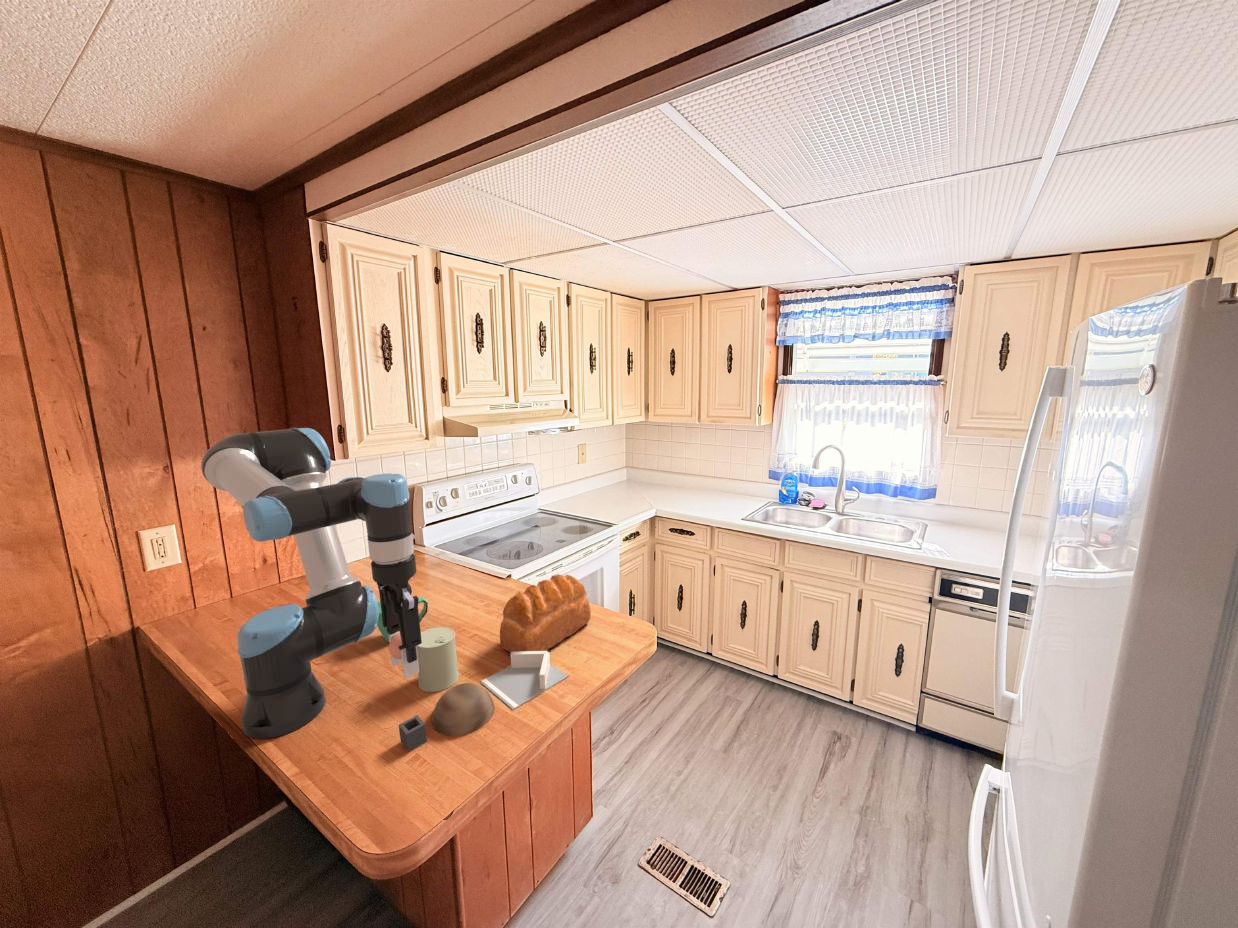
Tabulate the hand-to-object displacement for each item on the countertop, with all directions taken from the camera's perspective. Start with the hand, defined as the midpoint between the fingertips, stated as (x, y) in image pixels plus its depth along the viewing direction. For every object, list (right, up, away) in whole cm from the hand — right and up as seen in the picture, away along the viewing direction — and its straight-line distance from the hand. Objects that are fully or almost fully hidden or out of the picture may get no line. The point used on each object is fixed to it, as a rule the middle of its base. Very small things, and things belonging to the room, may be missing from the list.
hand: (405, 668), depth 94 cm
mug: (-20, -9, +43) cm, 48 cm away
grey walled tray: (+19, -12, +22) cm, 32 cm away
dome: (+8, -21, +12) cm, 26 cm away
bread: (+22, -8, +42) cm, 48 cm away
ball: (0, +5, -1) cm, 5 cm away
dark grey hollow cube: (0, -16, +3) cm, 17 cm away
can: (-2, -13, +23) cm, 26 cm away
